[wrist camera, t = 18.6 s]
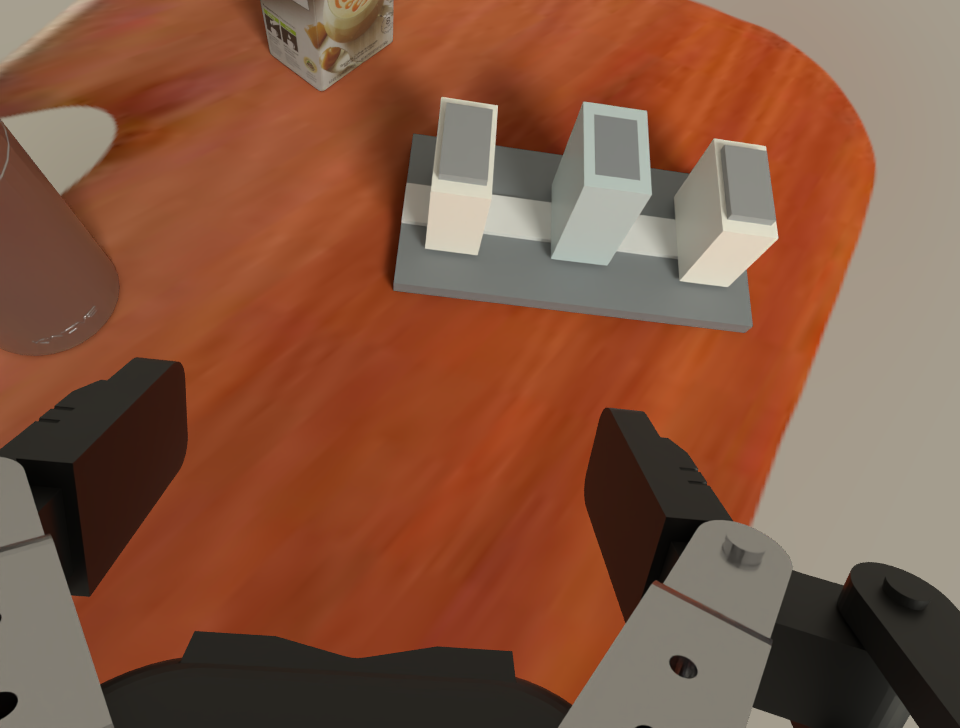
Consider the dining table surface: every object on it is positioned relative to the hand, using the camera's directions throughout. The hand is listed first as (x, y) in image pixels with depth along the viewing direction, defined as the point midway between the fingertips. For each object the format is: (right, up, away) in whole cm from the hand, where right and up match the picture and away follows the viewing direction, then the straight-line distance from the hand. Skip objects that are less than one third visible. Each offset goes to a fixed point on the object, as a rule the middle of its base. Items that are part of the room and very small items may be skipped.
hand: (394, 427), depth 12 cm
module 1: (0, +13, +37) cm, 39 cm away
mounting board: (+9, +12, +39) cm, 42 cm away
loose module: (+9, +12, +38) cm, 41 cm away
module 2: (+20, +11, +39) cm, 45 cm away
